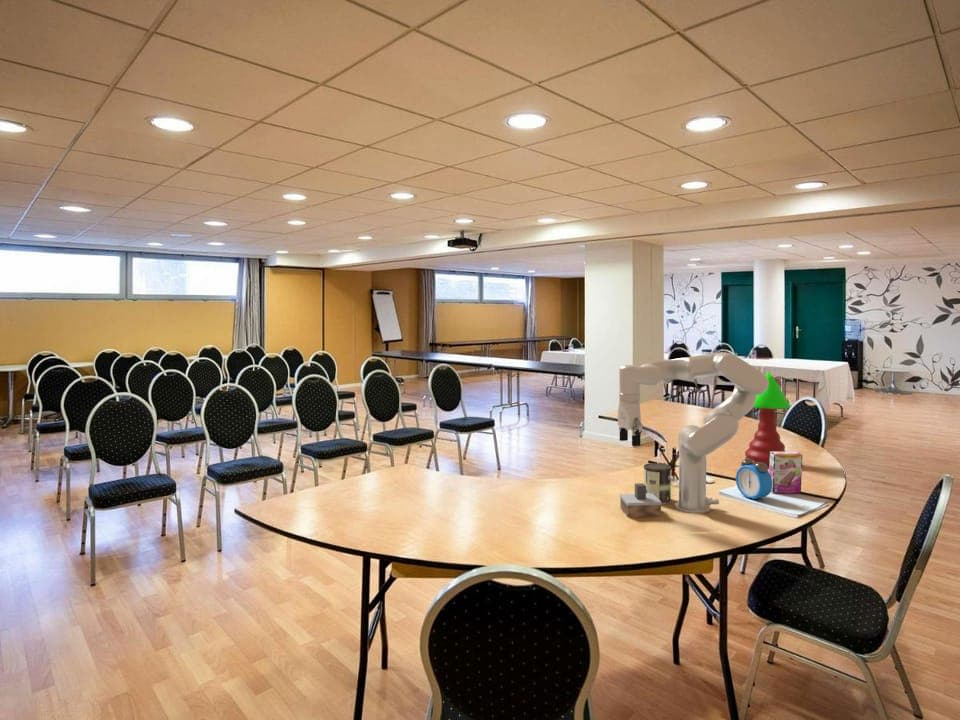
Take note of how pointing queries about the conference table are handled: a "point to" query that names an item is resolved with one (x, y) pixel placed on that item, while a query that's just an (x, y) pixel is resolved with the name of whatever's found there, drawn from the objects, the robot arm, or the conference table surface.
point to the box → (640, 510)
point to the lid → (640, 497)
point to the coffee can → (658, 481)
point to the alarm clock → (753, 479)
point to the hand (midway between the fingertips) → (629, 443)
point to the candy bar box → (786, 472)
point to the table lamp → (767, 424)
